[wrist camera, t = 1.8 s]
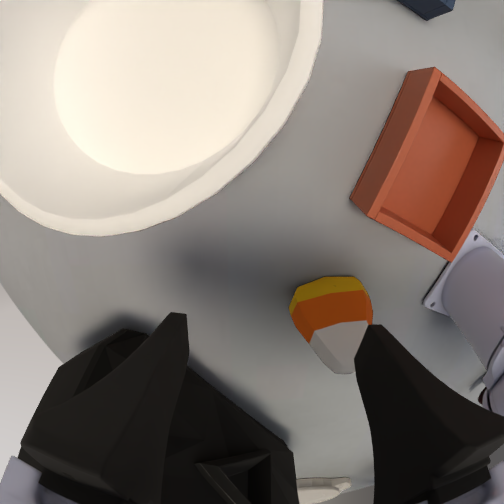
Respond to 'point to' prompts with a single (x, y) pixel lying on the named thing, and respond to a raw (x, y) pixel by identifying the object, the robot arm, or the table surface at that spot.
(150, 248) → the table surface
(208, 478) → the black hard case
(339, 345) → the candy corn
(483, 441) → the robot arm
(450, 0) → the slate bin
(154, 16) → the bowl
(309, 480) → the lid
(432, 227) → the terracotta bin
